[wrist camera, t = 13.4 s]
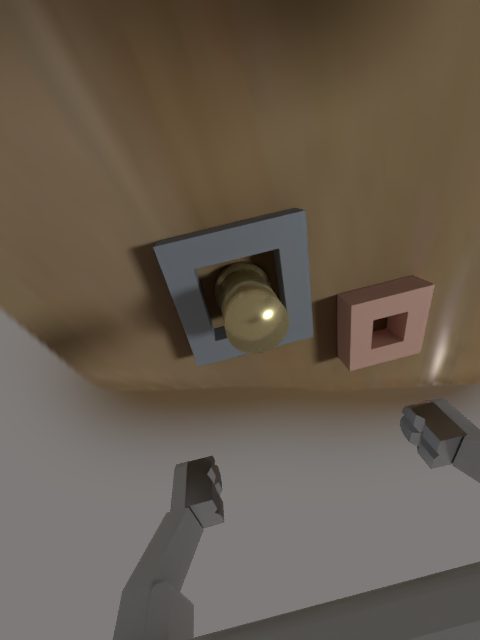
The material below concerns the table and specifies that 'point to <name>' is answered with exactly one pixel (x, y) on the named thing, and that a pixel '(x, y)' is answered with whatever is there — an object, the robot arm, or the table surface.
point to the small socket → (375, 303)
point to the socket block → (228, 244)
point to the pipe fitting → (250, 308)
